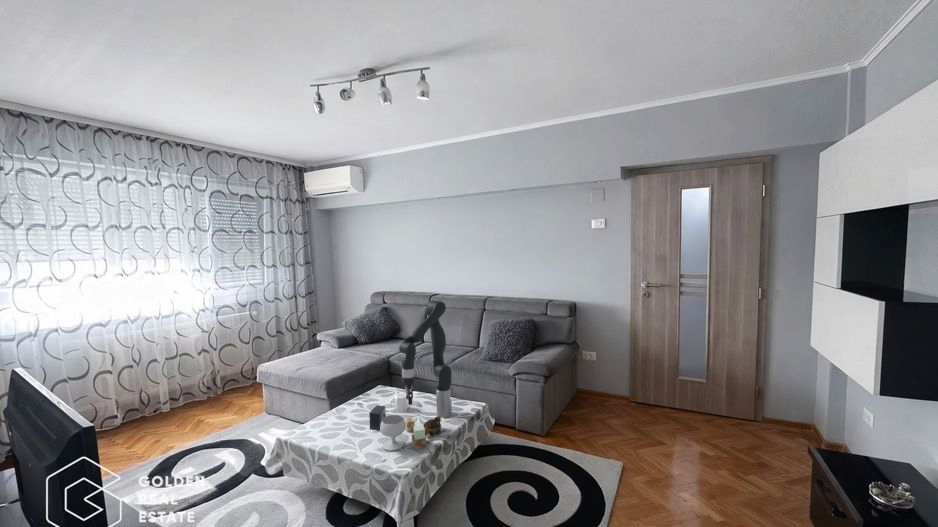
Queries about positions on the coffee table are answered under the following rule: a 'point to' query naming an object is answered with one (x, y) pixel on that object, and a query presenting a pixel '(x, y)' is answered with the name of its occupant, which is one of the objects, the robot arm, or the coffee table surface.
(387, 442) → the chalice
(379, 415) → the small box
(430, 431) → the decorative turtle
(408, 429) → the oak block
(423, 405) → the coffee table surface
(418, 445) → the tower slab
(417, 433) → the tower cube
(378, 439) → the coffee table surface
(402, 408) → the mug
